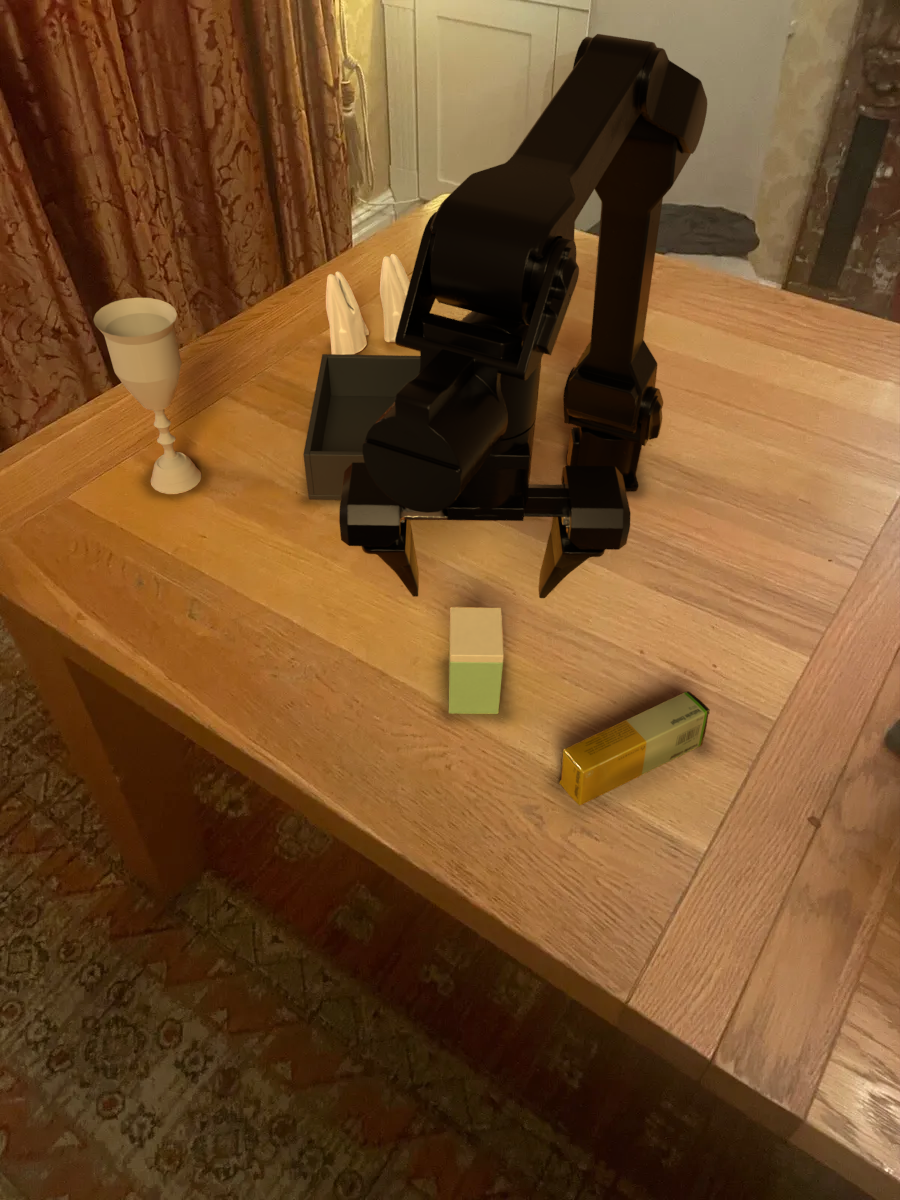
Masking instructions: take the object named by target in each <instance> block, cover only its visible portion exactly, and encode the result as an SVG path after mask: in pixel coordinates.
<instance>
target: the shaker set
mask: <svg viewBox="0 0 900 1200" xmlns="http://www.w3.org/2000/svg"><path fill="white" fill-rule="evenodd" d="M381 262H382V263H381V269H380V279H379V281H380V282H379V296H380V301H381V307H382V312H383V314H382V315H383V340H384V341H385V342H386V343H394V344H396V343H395V337H396V333H397V330H398V326H399V322H400V318H401V314H402V311H403V307H404V303H405V299H406V296H407V292H408V288H409V284H410V279H409V276H408V274H407V271H406V269H405V267H404V265H403V263H402V260H401V259H400V258H399V257H398V255H397V254H396V253H391V254H390V256H389V255H385V256H384V257H383V258H382V261H381ZM325 310H326V316H327V321H328V324H329V337H330V338H329V339H330V350H331V351H330V352H331V354H339V355H356V354H357V353H359V352H362V351H363V350H364V349H365V348H366V346H367V345H368V342H367V336H369V335H370V330H369V328H368V327H367V325H366V322H365V320H364V318H363V315H362V313H361V309H360V306H359V303H358V301H357V299H356V296H355V295H354V292H353V290H352V288H351V285H350V284H349V282H348V280H347V279H346V277H345V276H344V274H343V273H342V272H341V271H339V270H338V271H335V273H334V274H333V273H329V274H328V275H327V277H326V288H325Z"/></svg>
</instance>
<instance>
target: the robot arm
mask: <svg viewBox="0 0 900 1200" xmlns="http://www.w3.org/2000/svg"><path fill="white" fill-rule="evenodd" d="M707 111H708V98H707V95H706V92H705V89H704V85H703V83H702V80H701V79H699V78H698V77H697V76H695V75H694V74H692V73H690V72H689V71H687V70H686V69H684V68H682V67H681V66H679V65H677V64H676V63H674V62H673V61H671V60H670V59H669V57H668V54H667V51H666V50H665V48H663V47H657V45H656V43H655V42H653V41H648V40H642V39H634V38H627V37H621V36H615V35H608V34H601V33H596V34H595V35H594V36H593V37H591V36H585V37H584V38H583V39H582V40H581V43H580V44H579V46H578V48H577V50H576V54H575V57H574V60H573V66H572V70H571V71H570V72H569V74H568V75H567V77H565V79H564V81H563V82H562V84H561V85H560V86H559V88H558V90H557V91H556V93H555V94H554V95H553V97H552V98H551V100H550V101H549V103H548V104H547V105H546V106H545V108H544V110H543V111H542V113H541V114H540V115H539V117H538V118H537V120H536V121H535V123H534V124H533V126H532V127H530V130H529V131H528V133H527V134H526V136H525V137H524V138H523V140H522V141H521V143H520V144H519V145H518V147H517V148H516V150H515V151H514V152H513V154H512V155H511V156H510V158H509V159H508V160H507V161H505V162H504V163H501V164H498V165H495V166H492V167H488V168H485V169H482V170H479V171H477V172H473V173H471V174H470V175H468V177H466V178H465V179H464V181H462V182H461V183H460V184H459V185H458V186H457V187H456V188H455V189H454V190H453V191H452V192H450V193H449V195H448V196H446V198H445V199H444V200H443V201H442V202H441V204H440V205H439V207H438V208H437V210H436V211H435V212H433V214H432V215H431V216H430V217H429V218H428V220H427V222H426V224H425V228H424V230H423V233H422V235H421V239H420V243H419V246H418V251H417V255H416V258H415V262H414V266H413V270H412V274H411V277H410V279H409V281H410V284H409V288H408V292H407V296H406V299H405V303H404V307H403V311H402V314H401V318H400V322H399V326H398V330H397V333H396V337H395V343H394V344H395V345H396V346H399V347H402V348H406V349H408V350H409V349H410V350H413V351H417V352H419V354H420V355H419V356H420V372H419V375H418V376H417V377H416V378H415V379H413V380H412V381H410V382H408V383H407V384H406V385H405V386H404V387H403V388H402V389H401V390H400V391H399V392H398V393H397V394H396V397H395V402H394V403H393V404H392V406H391V407H390V408H389V409H388V410H387V411H386V412H385V413H384V414H383V415H382V416H381V417H380V418H379V419H378V420H377V421H376V423H375V424H374V425H373V426H372V427H371V429H370V430H369V431H368V433H367V436H366V439H365V442H364V443H363V458H364V462H365V463H355V462H353V463H352V464H351V465H350V466H349V467H348V468H347V469H346V470H345V471H344V479H343V487H342V494H341V500H340V503H339V513H338V514H339V515H338V516H339V520H338V521H339V531H340V532H339V533H340V541H341V542H343V543H344V544H345V545H347V546H348V547H361V551H362V552H364V553H365V554H368V555H376V556H378V557H379V558H380V559H381V560H382V561H383V562H384V563H385V564H386V565H387V566H388V567H389V568H390V569H391V570H392V571H393V572H394V573H395V574H396V575H397V577H398V578H399V579H400V581H401V582H402V584H403V585H404V587H405V588H406V589H407V591H408V592H409V594H410V595H411V596H412V597H415V598H416V597H417V598H418V597H419V590H420V589H419V588H420V585H419V584H420V579H419V576H420V573H419V571H420V570H419V565H418V558H417V553H416V545H415V540H414V535H413V528H412V521H455V522H456V521H459V522H460V521H461V522H500V521H501V522H502V521H503V522H524V518H528V517H529V518H540V517H541V518H551V525H550V526H551V527H550V531H549V535H548V538H547V542H546V546H545V551H544V554H543V560H542V563H541V566H540V571H539V578H538V597H539V599H546V597H548V595H549V594H551V593H552V591H553V590H554V589H555V588H556V587H558V585H559V584H560V583H561V582H562V581H563V580H564V579H565V578H566V577H567V576H568V575H569V574H570V573H572V572H573V571H574V570H576V569H578V567H579V566H581V565H583V563H585V562H586V561H588V559H591V558H599V557H602V556H603V555H605V552H606V550H611V551H614V550H615V551H618V550H621V549H622V548H624V547H625V546H626V545H627V542H628V538H629V534H630V529H631V509H630V504H629V499H628V495H627V492H637V491H638V489H639V483H638V478H637V470H638V466H639V461H640V455H641V452H642V446H643V447H645V446H646V445H647V444H648V441H650V440H653V439H658V437H659V436H660V432H661V429H662V423H663V407H664V399H663V397H662V396H663V395H662V393H661V389H660V388H658V387H656V384H657V372H658V362H657V360H656V358H655V356H654V355H653V353H652V352H651V350H650V348H649V346H648V345H647V342H645V340H644V339H645V338H644V336H645V330H646V329H645V328H646V322H647V315H648V307H649V301H650V295H651V294H650V292H651V286H652V280H653V279H652V278H653V272H654V264H655V257H656V249H657V242H658V235H659V230H660V229H659V228H660V223H661V222H660V221H661V216H662V215H661V214H662V208H663V207H662V206H663V200H664V197H665V196H666V194H667V193H668V192H669V191H670V190H671V189H672V187H673V185H674V184H675V182H676V181H677V179H678V177H679V175H680V173H681V172H682V170H683V168H684V167H685V165H686V164H687V162H688V160H689V158H690V156H691V155H693V154H694V153H695V152H696V149H697V148H698V145H699V143H700V140H701V138H702V135H703V131H704V126H705V122H706V117H707ZM594 191H595V193H596V195H597V197H598V198H599V200H600V202H601V203H600V208H601V209H600V219H599V229H598V230H599V231H598V242H597V243H598V244H597V258H596V268H595V269H596V270H595V280H594V281H595V282H594V295H593V306H592V307H593V308H592V320H591V332H590V333H591V334H590V342H588V344H587V345H586V347H585V349H584V350H583V352H582V354H581V355H580V357H579V359H578V361H577V363H576V364H575V366H573V367H572V369H571V370H570V372H569V373H568V376H567V379H566V382H565V385H564V390H563V397H562V398H563V399H562V400H563V423H564V424H567V425H573V427H572V428H571V429H570V432H569V433H570V435H569V440H568V448H567V456H566V461H567V465H565V466H563V467H562V472H561V483H560V484H559V483H558V484H557V483H555V484H553V483H552V484H551V483H546V484H545V483H530V477H531V470H532V469H531V468H532V460H533V459H532V458H533V450H534V441H535V440H534V437H535V429H536V419H537V409H538V401H539V399H538V397H539V388H540V380H541V379H540V378H541V370H542V369H541V368H542V358H543V356H544V354H545V355H548V356H552V354H553V351H554V349H555V345H556V343H557V340H558V337H559V334H560V331H561V328H562V326H563V323H564V320H565V317H566V314H567V311H568V309H569V307H570V304H571V301H572V298H573V295H574V292H575V289H576V286H577V283H578V280H579V275H580V266H579V264H578V262H577V245H576V242H575V227H576V226H575V225H576V224H575V223H576V220H577V219H578V217H579V216H580V213H581V212H582V210H583V208H584V207H585V206H586V204H587V202H588V201H589V199H590V197H591V196H592V194H593V193H594ZM435 301H437V302H438V303H439V304H443V305H447V306H450V307H454V308H458V309H462V310H466V311H470V312H469V313H467V314H466V315H465V316H464V317H463V318H462V319H460V320H458V319H455V318H451V317H448V316H443V315H439V314H436V313H432V312H431V311H432V308H433V306H434V304H435ZM574 426H575V427H574Z"/></svg>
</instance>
